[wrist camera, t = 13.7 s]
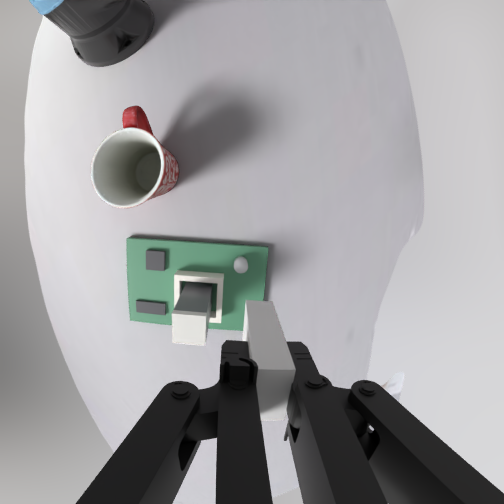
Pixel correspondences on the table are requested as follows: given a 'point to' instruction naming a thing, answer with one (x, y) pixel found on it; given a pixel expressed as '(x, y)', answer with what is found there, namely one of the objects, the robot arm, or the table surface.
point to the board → (193, 278)
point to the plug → (192, 314)
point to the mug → (132, 164)
